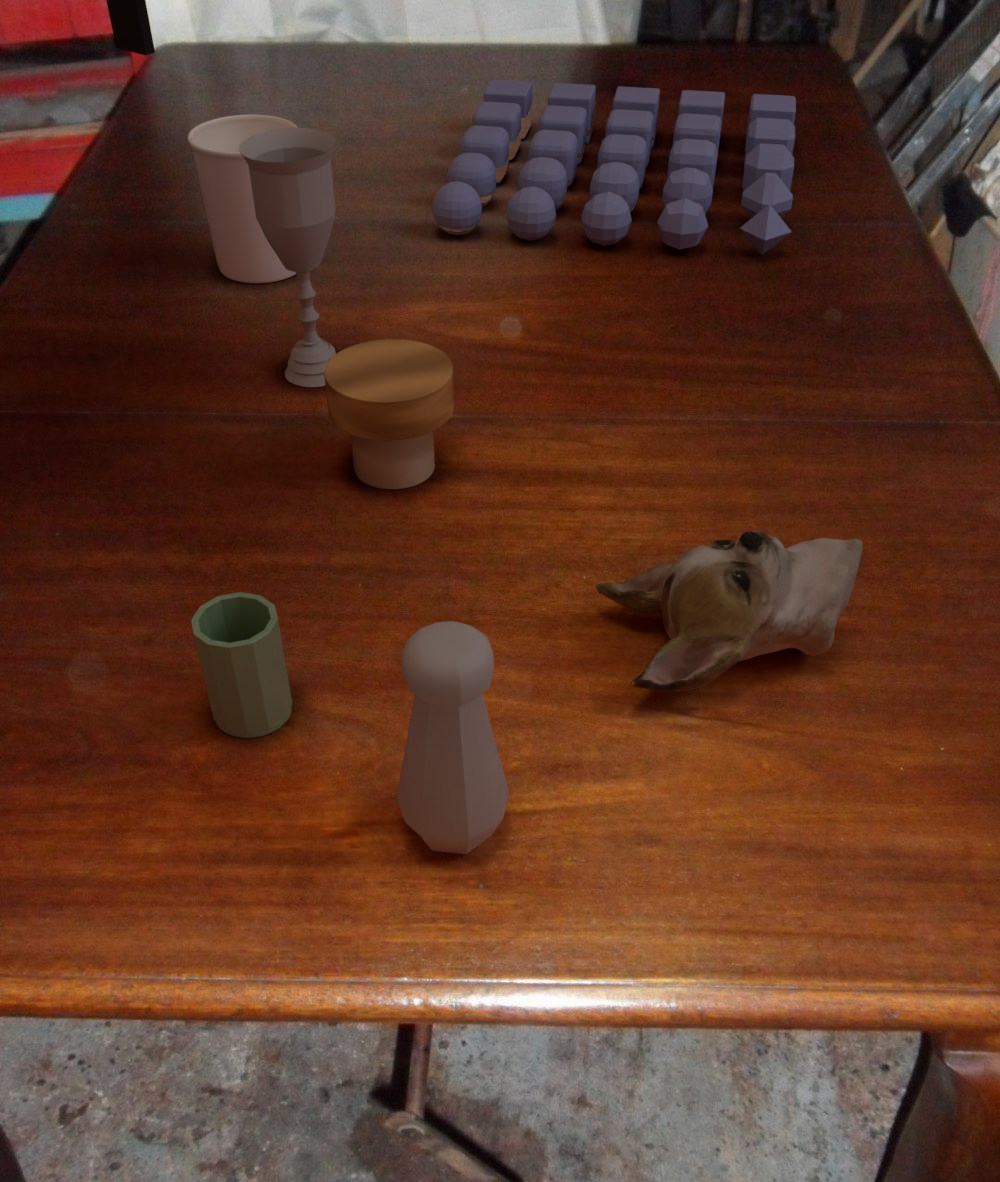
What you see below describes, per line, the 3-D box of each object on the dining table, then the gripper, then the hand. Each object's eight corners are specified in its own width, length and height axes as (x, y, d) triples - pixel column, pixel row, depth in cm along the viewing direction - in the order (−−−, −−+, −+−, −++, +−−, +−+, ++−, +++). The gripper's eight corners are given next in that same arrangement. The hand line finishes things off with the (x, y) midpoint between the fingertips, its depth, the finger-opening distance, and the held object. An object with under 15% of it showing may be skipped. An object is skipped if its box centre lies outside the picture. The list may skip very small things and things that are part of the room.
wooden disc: (317, 386, 87) (313, 348, 85) (436, 369, 89) (434, 331, 87) (342, 449, 81) (338, 410, 79) (469, 429, 83) (468, 390, 81)
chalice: (314, 343, 102) (287, 121, 90) (374, 365, 100) (356, 139, 87) (254, 378, 98) (218, 149, 86) (316, 402, 95) (288, 169, 83)
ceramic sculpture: (903, 572, 65) (635, 614, 64) (878, 688, 71) (633, 728, 70) (833, 468, 72) (592, 504, 71) (816, 581, 78) (593, 615, 77)
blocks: (788, 141, 137) (796, 95, 134) (787, 268, 113) (796, 215, 110) (491, 123, 142) (491, 78, 138) (428, 241, 118) (426, 190, 114)
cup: (208, 692, 71) (187, 601, 66) (285, 677, 72) (269, 586, 67) (218, 745, 68) (196, 653, 63) (298, 728, 69) (283, 636, 64)
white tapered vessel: (332, 271, 113) (318, 137, 104) (237, 297, 109) (215, 160, 100) (285, 236, 119) (268, 107, 110) (193, 259, 115) (169, 127, 106)
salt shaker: (382, 849, 62) (361, 665, 53) (425, 774, 66) (413, 590, 57) (485, 880, 61) (482, 697, 52) (524, 802, 65) (527, 618, 56)
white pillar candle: (347, 452, 90) (340, 393, 86) (423, 440, 91) (420, 381, 88) (363, 495, 86) (357, 434, 82) (444, 482, 87) (441, 421, 84)
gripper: (-300, -421, 46) (-104, 154, 61) (180, -427, 60) (244, 38, 75) (-395, -422, 49) (-187, 124, 64) (83, -428, 63) (162, 19, 78)
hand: (46, 79), depth 70 cm, fingers open, 13 cm apart
